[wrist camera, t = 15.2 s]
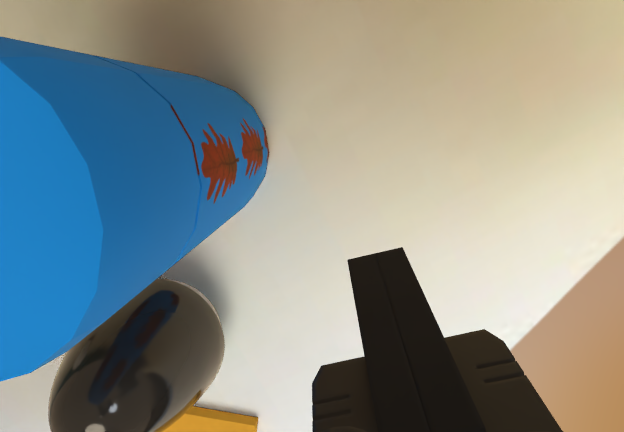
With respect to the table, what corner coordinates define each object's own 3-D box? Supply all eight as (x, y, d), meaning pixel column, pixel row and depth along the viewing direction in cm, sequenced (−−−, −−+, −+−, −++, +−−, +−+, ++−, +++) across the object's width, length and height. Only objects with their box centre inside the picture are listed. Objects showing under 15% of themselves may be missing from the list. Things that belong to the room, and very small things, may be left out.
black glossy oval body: (149, 391, 43) (40, 538, 29) (99, 285, 42) (-45, 382, 27) (255, 359, 42) (197, 495, 27) (207, 246, 40) (117, 326, 25)
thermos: (281, 209, 39) (146, 378, 14) (152, 226, 40) (-169, 407, 16) (257, 67, 37) (52, -16, 12) (122, 90, 38) (-302, 56, 14)
